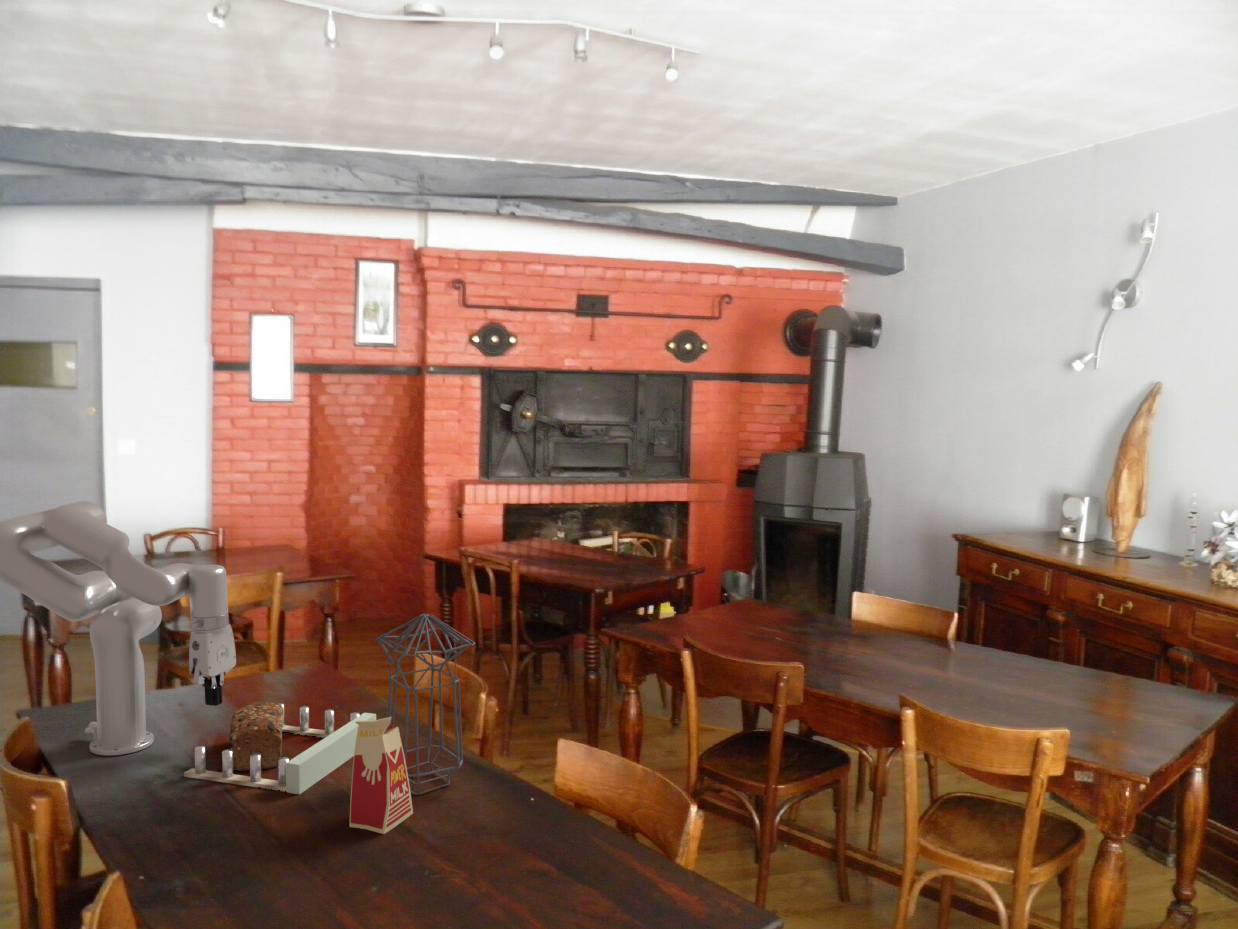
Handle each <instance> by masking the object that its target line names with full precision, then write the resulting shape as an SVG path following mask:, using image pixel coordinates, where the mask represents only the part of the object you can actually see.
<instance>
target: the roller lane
mask: <svg viewBox="0 0 1238 929" xmlns="http://www.w3.org/2000/svg"><path fill="white" fill-rule="evenodd" d="M278 704H280V705H282V706H283V727H282V732H290V733H294V734H293V735H297V734H300V735H299V736H305V735H307V737H312V736H316V737H315V738H320V737H321V738H322V739H321V738H320V739H321V740H320V741H318V742H317V743H315V744H313V745H312V746H310V747H309V748H307V749H306V750H304V751H302V752H300V753H299V754H298V755H296V756H295V757H292V758H291V759H290V758H289V757H287V756H285V757H284V756H283V757H281V758H280V759H279V760H278V780H276V779H269V778H262V769H261V754H259V753H255V754H251V755H250V770H249V775H250V776H248V775H242V774H234V770H233V750H230V749H224V750H222V752H221V757H222V758H221V759H222V760H221V761H222V762H221V764H222V765H221V770H222V771H221V772H220V771H213V770H207V767H206V766H207V765H206V764H207V762H206V761H207V760H206V746H205V745H198V746H195V747H194V767H191V768H189V769H188V770H185V771H184V772H183V777H185V778H189V779H198V780H199V779H200V780H204V781H212V782H218V783H219V782H220V783H225V784H232V785H233V784H234V785H238V786H247V787H251V788H258V787H261V788H260V789H265V788H266V789H267V790H271V789H272V790H273V791H278V790H280V791H279V792H285V791H286V792H287V793H288V794H295V795H301V794H302V793H304V792H305V791H307V790H308V789H310V788H311V787H313V786H314V785H315V784H316V783H318V782H319V781H320V780H322V779H324V777H326V776H328V775H329V774H330V773H331V772H333V771H335V770H336V769H337V768H339V767H340V766H342V765H343V764H345V763H346V762H347V761H350V760H351V759H352V758H354V752H355V743H356V737H357V731H358V726H359V725H358V724H357V723H355V722H356V721H375V720H377V714H376V713H372V712H363V713H362V714H360V713H359V712H351V713H350V716H349V717H350V719H349V720H350V721H349V722H347V723H346V724H345V725H343V726H341V727H340V728H338V729H336V730H335V710H334V709H327V710H326V709H325V710H324V729H318V728H317V729H316V728H310V707H309V706H305V705H304V706H300V707H299V726H296V725H295V726H294V725H287V724H285V704H284V703H282V702H281V703H280V702H279V703H278Z"/></svg>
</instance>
